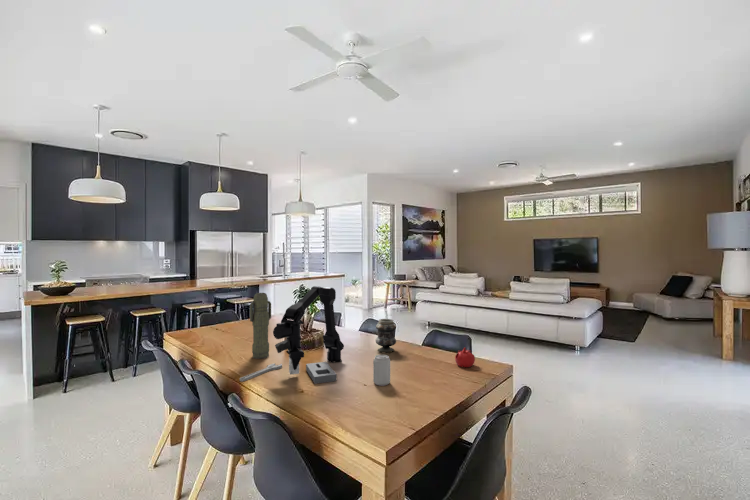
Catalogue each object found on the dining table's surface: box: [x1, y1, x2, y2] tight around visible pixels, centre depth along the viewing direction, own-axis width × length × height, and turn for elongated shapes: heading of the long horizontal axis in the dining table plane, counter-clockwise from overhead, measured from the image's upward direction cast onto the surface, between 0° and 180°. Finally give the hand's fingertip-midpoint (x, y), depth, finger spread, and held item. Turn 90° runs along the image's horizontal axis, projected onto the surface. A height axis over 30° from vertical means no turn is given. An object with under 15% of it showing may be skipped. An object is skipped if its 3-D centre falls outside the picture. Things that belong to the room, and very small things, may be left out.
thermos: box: [249, 292, 272, 360], centre depth 207 cm, size 9×12×35 cm
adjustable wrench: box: [239, 362, 283, 382], centre depth 180 cm, size 25×6×2 cm, turn 147°
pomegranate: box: [454, 347, 476, 368], centre depth 191 cm, size 10×10×9 cm
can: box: [372, 354, 391, 387], centre depth 166 cm, size 8×8×12 cm
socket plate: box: [305, 361, 338, 385], centre depth 177 cm, size 10×20×3 cm, turn 21°
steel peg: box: [288, 357, 300, 376], centre depth 174 cm, size 4×4×8 cm
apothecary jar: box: [375, 318, 397, 353], centre depth 219 cm, size 12×12×18 cm
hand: (294, 368), depth 174 cm, fingers closed on steel peg, 4 cm apart
